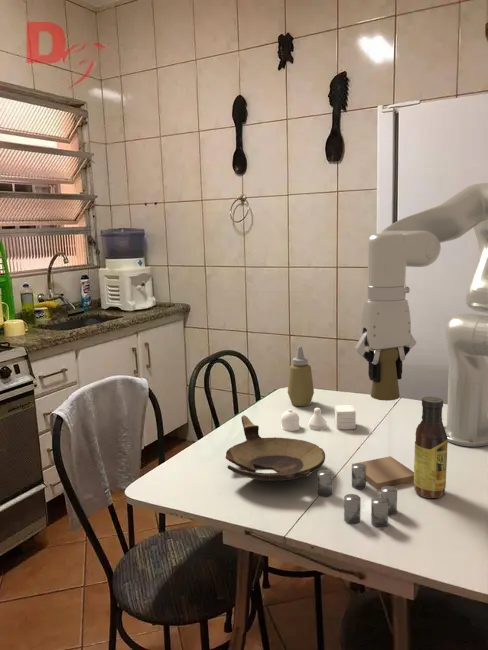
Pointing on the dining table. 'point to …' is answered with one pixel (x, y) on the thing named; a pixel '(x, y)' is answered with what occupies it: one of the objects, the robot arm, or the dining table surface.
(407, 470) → the walnut board
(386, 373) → the olive pawn
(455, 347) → the robot arm
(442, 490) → the sauce bottle
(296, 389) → the squeeze bottle
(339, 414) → the container set
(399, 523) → the dining table surface
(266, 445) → the broken ceramic bowl
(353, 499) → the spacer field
